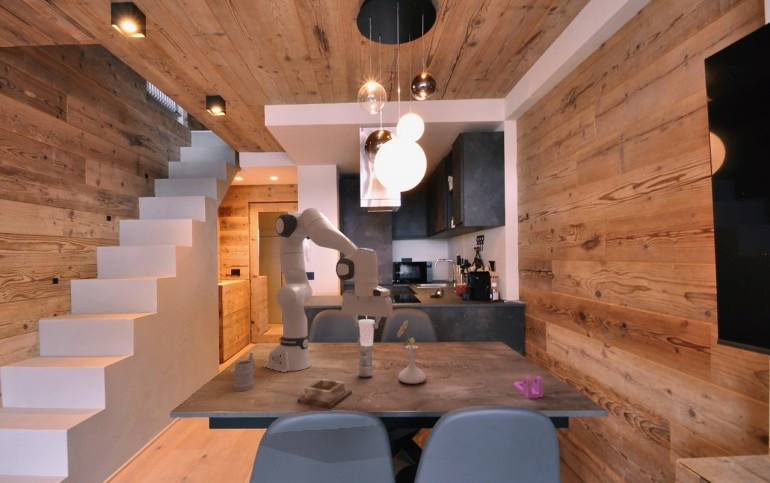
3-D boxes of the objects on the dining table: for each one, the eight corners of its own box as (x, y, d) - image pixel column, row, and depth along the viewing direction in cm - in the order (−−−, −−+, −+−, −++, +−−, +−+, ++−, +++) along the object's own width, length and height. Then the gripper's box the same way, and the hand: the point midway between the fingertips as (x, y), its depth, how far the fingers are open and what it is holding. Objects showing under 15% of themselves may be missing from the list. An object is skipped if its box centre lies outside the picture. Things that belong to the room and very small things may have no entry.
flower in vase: (410, 374, 151) (409, 316, 152) (432, 381, 143) (430, 319, 144) (389, 382, 142) (388, 320, 143) (410, 389, 134) (409, 323, 135)
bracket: (543, 397, 125) (542, 377, 125) (528, 398, 124) (527, 378, 125) (524, 384, 138) (523, 366, 138) (510, 385, 137) (510, 367, 138)
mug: (229, 391, 135) (229, 359, 135) (244, 380, 146) (244, 351, 147) (248, 392, 134) (248, 360, 134) (262, 381, 146) (262, 351, 146)
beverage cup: (375, 346, 130) (375, 308, 130) (359, 347, 129) (358, 308, 130) (374, 342, 136) (373, 305, 136) (358, 343, 135) (358, 306, 136)
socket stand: (297, 402, 124) (297, 389, 124) (320, 388, 136) (320, 376, 137) (331, 408, 118) (331, 394, 118) (351, 393, 131) (351, 381, 131)
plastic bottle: (371, 379, 146) (371, 330, 147) (356, 378, 147) (355, 330, 148) (375, 374, 152) (374, 327, 153) (360, 373, 154) (359, 327, 154)
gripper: (338, 290, 135) (338, 327, 134) (387, 292, 126) (387, 331, 126) (346, 289, 140) (346, 324, 140) (394, 290, 132) (394, 328, 131)
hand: (366, 327), depth 133 cm, fingers closed on beverage cup, 6 cm apart
